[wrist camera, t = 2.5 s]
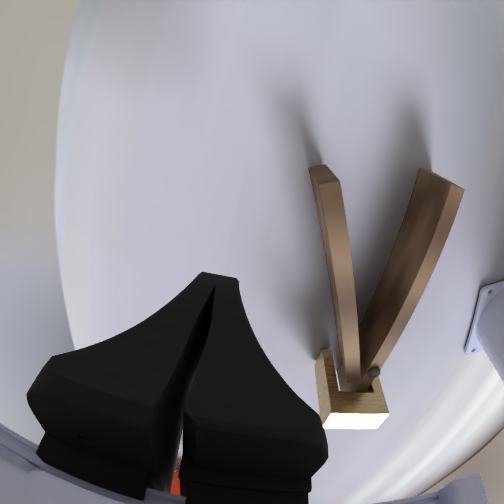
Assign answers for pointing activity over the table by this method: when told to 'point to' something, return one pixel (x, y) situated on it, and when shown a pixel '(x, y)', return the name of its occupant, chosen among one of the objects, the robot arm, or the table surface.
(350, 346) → the tong arm
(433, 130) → the table surface
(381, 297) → the bar
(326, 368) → the light wood block
